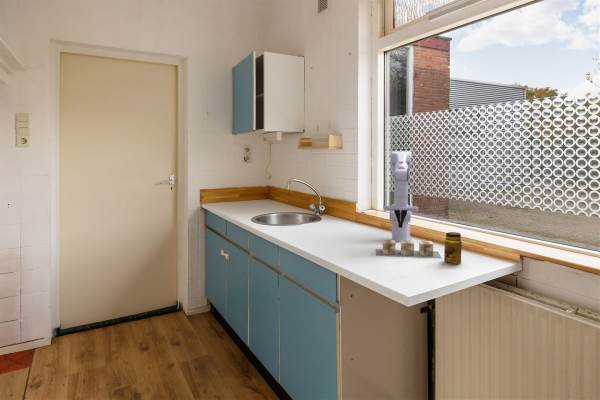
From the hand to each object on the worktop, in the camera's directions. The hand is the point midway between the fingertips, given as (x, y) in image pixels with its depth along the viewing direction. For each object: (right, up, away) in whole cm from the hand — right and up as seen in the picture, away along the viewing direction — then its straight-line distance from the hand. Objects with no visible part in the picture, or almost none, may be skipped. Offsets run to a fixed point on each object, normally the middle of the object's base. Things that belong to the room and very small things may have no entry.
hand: (400, 227), depth 169 cm
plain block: (+1, -11, -7) cm, 13 cm away
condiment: (+15, -13, -20) cm, 28 cm away
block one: (-6, -10, -6) cm, 14 cm away
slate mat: (+1, -11, -7) cm, 13 cm away
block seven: (+8, -11, -9) cm, 16 cm away
